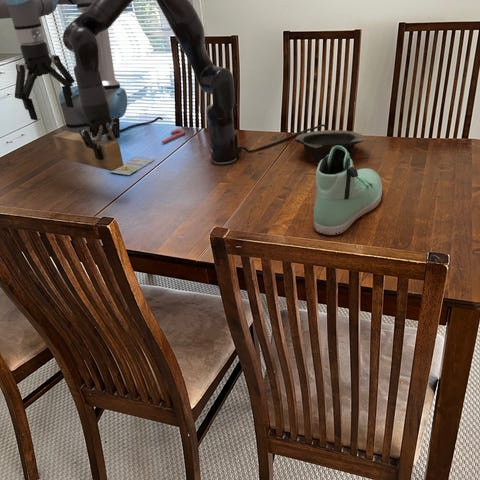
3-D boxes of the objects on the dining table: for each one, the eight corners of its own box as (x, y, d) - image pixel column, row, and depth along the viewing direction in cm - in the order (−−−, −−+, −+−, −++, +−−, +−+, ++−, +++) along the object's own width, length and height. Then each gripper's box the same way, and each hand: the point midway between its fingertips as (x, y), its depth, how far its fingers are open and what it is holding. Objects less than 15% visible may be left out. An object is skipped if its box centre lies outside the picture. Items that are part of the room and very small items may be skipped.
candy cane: (153, 142, 199) (153, 139, 199) (177, 131, 210) (176, 127, 209) (164, 144, 196) (163, 141, 196) (187, 133, 206) (187, 129, 206)
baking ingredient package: (109, 171, 174) (134, 157, 185) (109, 172, 174) (134, 158, 185) (129, 174, 170) (153, 159, 182) (129, 175, 170) (153, 160, 182)
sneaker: (389, 187, 148) (396, 123, 138) (356, 242, 123) (361, 168, 112) (346, 181, 154) (350, 119, 144) (306, 232, 129) (307, 161, 118)
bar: (59, 158, 158) (52, 135, 154) (71, 153, 161) (65, 130, 157) (112, 171, 145) (106, 146, 141) (123, 165, 148) (118, 141, 144)
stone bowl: (322, 174, 159) (321, 147, 155) (282, 157, 179) (280, 133, 175) (380, 156, 168) (380, 130, 163) (336, 142, 188) (335, 118, 184)
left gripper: (1, 52, 133) (25, 126, 144) (74, 35, 149) (91, 103, 160) (-14, 51, 136) (11, 123, 148) (60, 34, 153) (77, 100, 164)
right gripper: (83, 109, 131) (97, 167, 140) (121, 95, 141) (132, 150, 150) (65, 106, 135) (80, 162, 144) (104, 93, 145) (115, 146, 154)
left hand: (52, 113), depth 154 cm, fingers open, 13 cm apart
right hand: (107, 156), depth 147 cm, fingers closed on bar, 5 cm apart
